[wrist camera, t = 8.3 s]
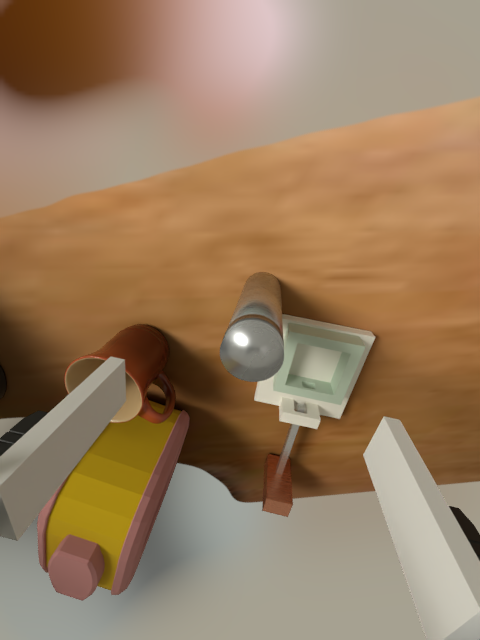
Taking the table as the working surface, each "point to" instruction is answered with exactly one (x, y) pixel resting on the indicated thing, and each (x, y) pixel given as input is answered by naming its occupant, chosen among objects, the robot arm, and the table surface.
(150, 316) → the table surface
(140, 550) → the alarm clock
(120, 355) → the mug
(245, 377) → the silver metal cylinder
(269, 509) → the pin
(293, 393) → the dock
